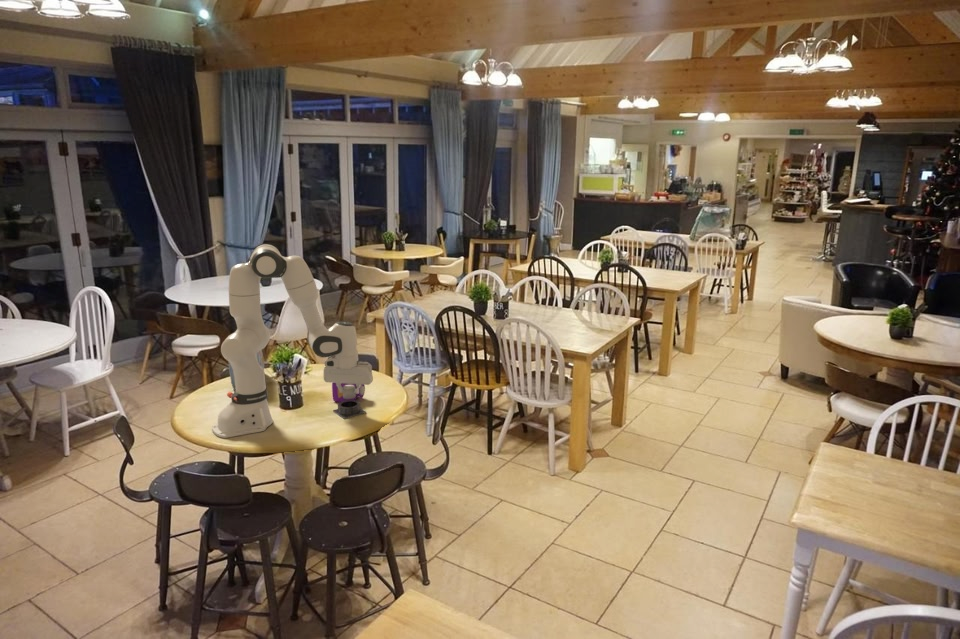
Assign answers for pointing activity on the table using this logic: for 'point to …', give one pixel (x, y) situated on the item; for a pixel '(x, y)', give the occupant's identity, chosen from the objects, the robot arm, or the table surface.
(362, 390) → the toy camera
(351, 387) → the cap
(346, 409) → the grey flanged ring
